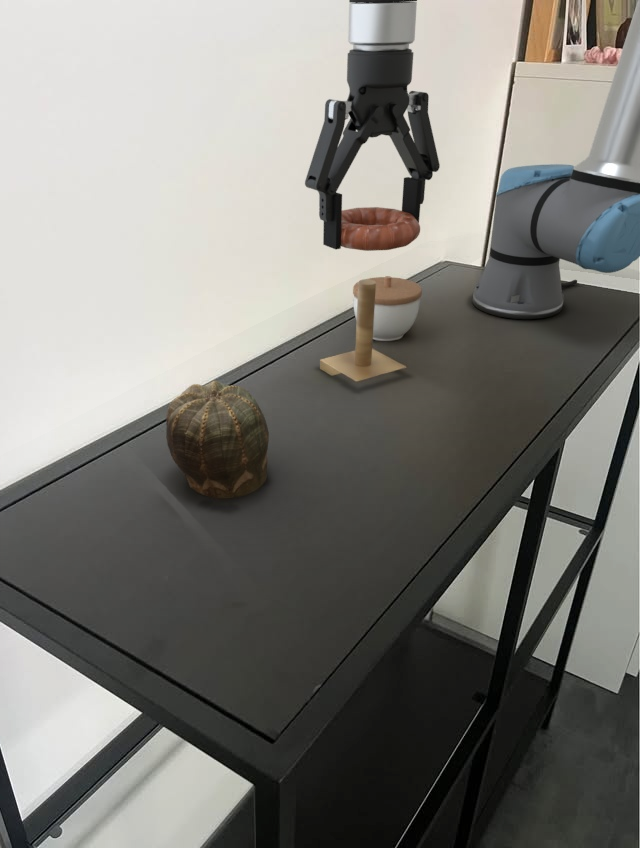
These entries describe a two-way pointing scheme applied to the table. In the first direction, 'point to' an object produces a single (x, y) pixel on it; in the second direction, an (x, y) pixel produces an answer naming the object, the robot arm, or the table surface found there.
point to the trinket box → (393, 307)
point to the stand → (362, 343)
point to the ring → (377, 228)
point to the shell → (218, 439)
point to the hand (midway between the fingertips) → (371, 238)
